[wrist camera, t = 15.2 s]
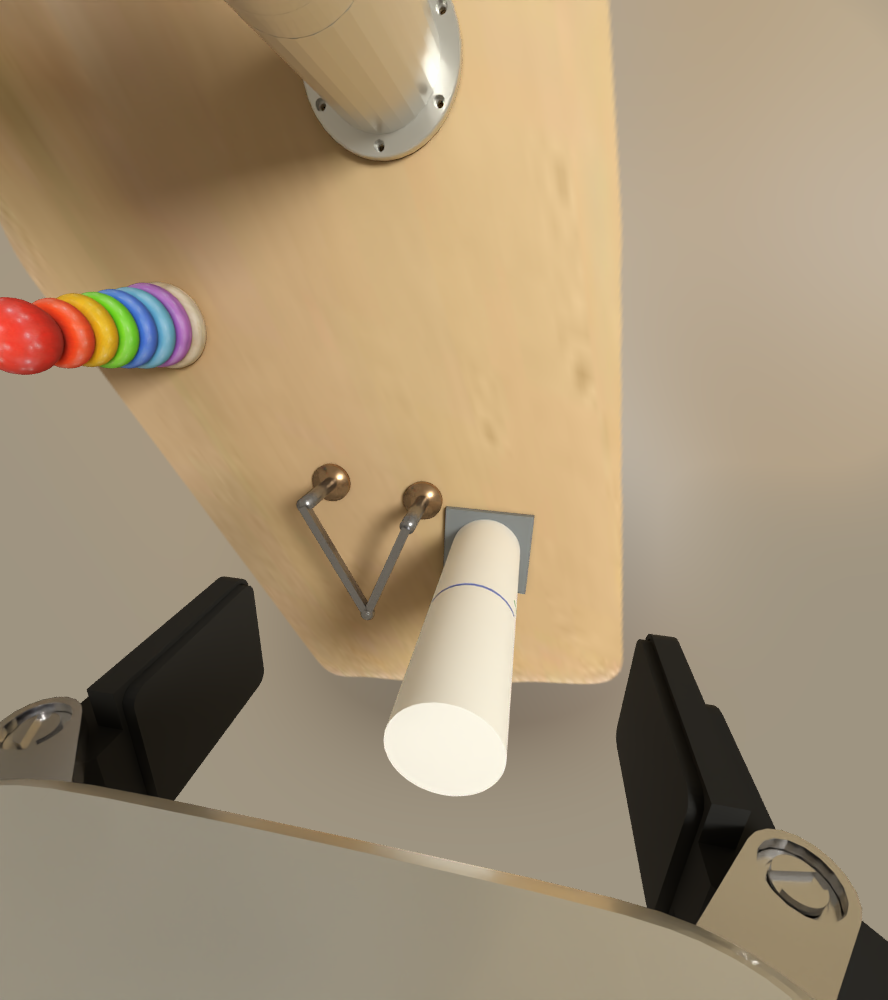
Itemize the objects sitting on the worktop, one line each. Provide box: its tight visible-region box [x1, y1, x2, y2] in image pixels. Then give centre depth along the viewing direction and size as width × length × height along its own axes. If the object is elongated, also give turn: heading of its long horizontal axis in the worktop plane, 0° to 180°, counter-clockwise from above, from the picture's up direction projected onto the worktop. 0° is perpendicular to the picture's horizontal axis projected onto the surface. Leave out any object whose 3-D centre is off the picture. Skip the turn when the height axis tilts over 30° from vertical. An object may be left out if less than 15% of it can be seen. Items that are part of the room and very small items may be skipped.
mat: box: [444, 506, 534, 594], centre depth 51 cm, size 9×9×1 cm
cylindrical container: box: [384, 520, 520, 796], centre depth 39 cm, size 7×7×25 cm
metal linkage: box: [297, 464, 442, 620], centre depth 49 cm, size 14×14×8 cm
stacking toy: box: [0, 282, 206, 375], centre depth 39 cm, size 8×8×19 cm
